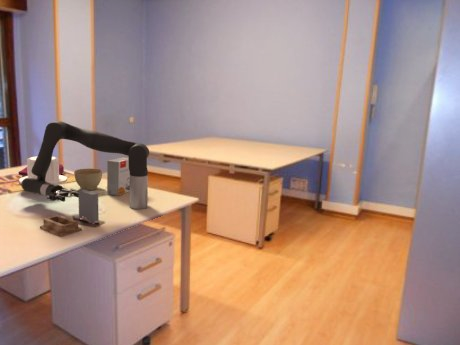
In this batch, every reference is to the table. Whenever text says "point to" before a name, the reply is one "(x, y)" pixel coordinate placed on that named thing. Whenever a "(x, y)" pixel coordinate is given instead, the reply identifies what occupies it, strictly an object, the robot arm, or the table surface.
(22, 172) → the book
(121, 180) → the hard drive box
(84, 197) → the grey upright flat block
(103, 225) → the table surface
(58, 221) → the rack
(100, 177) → the planter bowl
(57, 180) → the ribbed cylinder on disc
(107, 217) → the table surface
